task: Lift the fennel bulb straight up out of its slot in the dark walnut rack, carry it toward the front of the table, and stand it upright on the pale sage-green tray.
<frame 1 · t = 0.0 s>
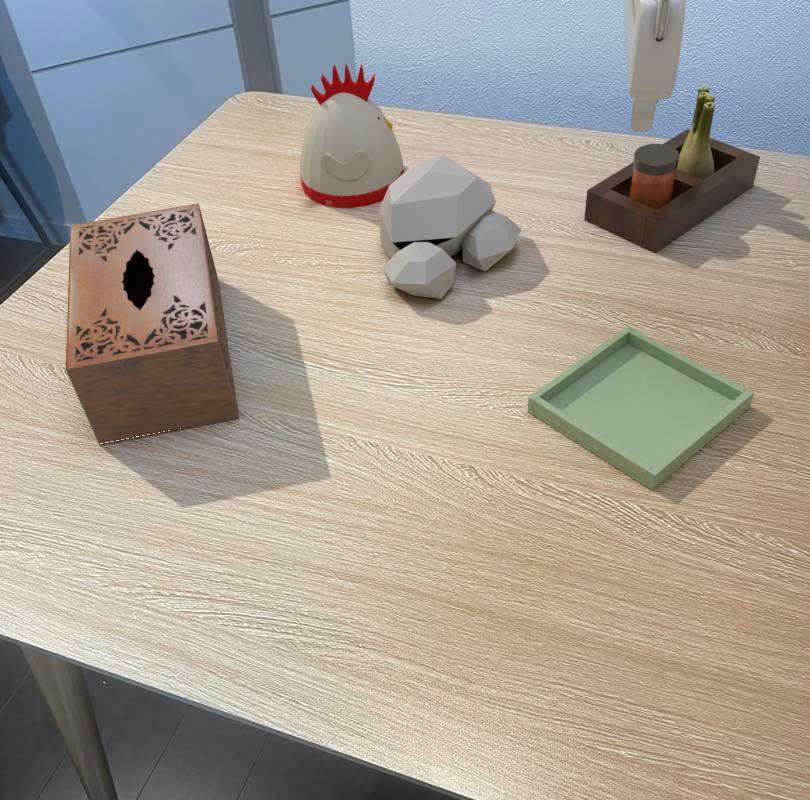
hand: (638, 102, 84), 23 cm above the table, tool pointing down, fingers open, 8 cm apart
rack: (669, 202, 116), on the table
fennel bulb: (690, 190, 118), resting in rack
tissue box cover: (164, 356, 103), on the table
kitchen timer: (353, 181, 124), on the table
spice jar: (647, 217, 114), resting in rack
tray: (637, 409, 92), on the table
rock: (433, 256, 112), on the table
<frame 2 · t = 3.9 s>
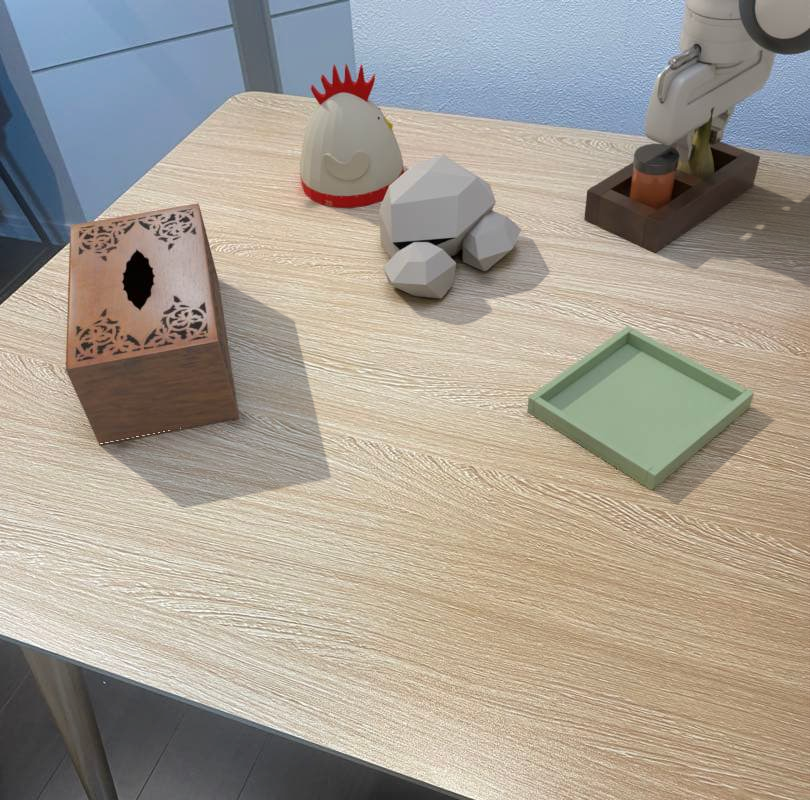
hand: (698, 150, 113), 5 cm above the table, tool pointing down, fingers closed on fennel bulb, 4 cm apart
fennel bulb: (690, 190, 118), resting in rack, touching gripper
everything else where it was.
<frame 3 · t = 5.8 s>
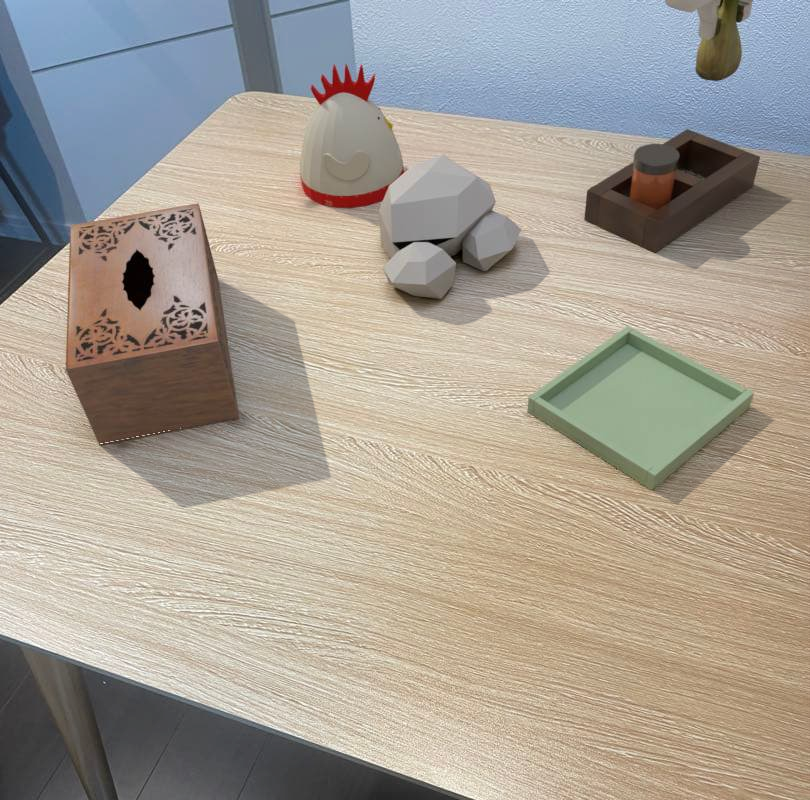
hand: (723, 27, 102), 20 cm above the table, tool pointing down, fingers closed on fennel bulb, 4 cm apart
fennel bulb: (715, 77, 106), point 14 cm above the table, touching gripper
everything else where it was.
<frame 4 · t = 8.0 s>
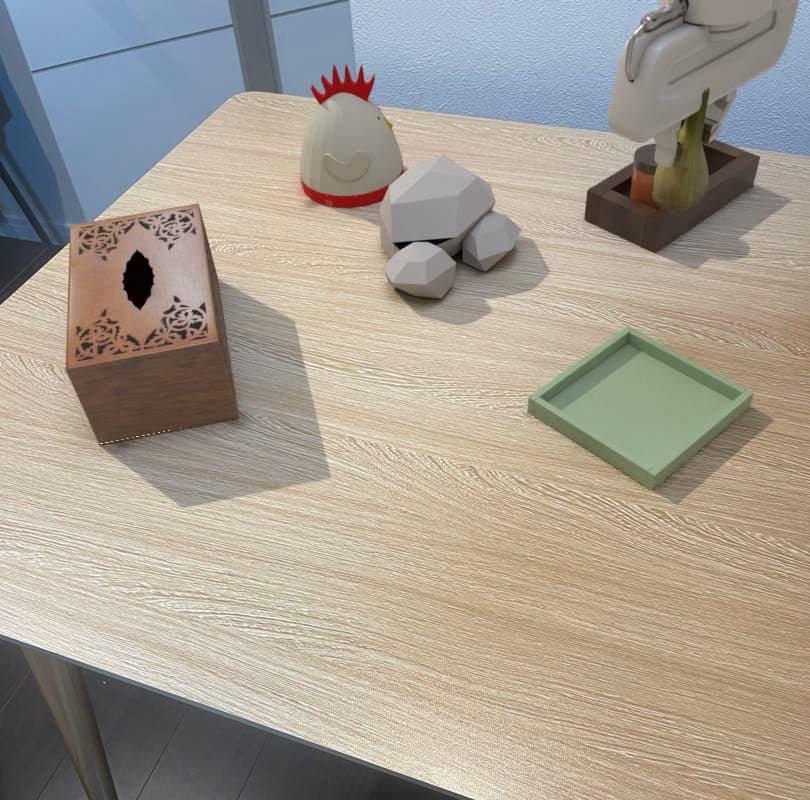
hand: (686, 150, 82), 21 cm above the table, tool pointing down, fingers closed on fennel bulb, 4 cm apart
fennel bulb: (676, 205, 86), point 16 cm above the table, touching gripper
everything else where it was.
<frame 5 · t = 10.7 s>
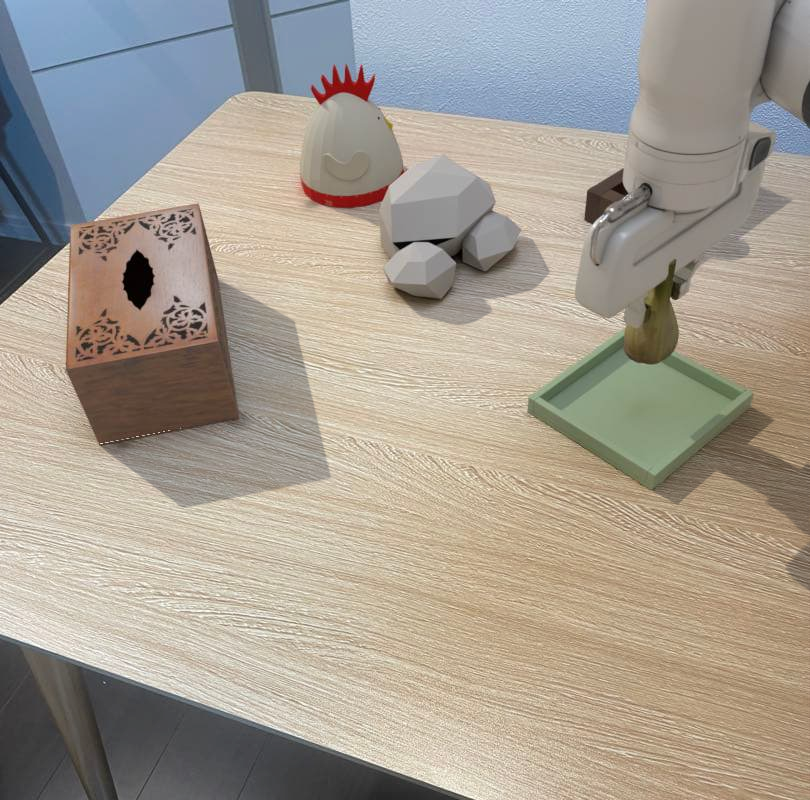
hand: (655, 308, 83), 12 cm above the table, tool pointing down, fingers closed on fennel bulb, 4 cm apart
fennel bulb: (647, 355, 87), point 7 cm above the table, touching gripper
everything else where it was.
when the fingers open (6 cm above the table, at t = 12.6 s): fennel bulb stays where it is, resting on tray.
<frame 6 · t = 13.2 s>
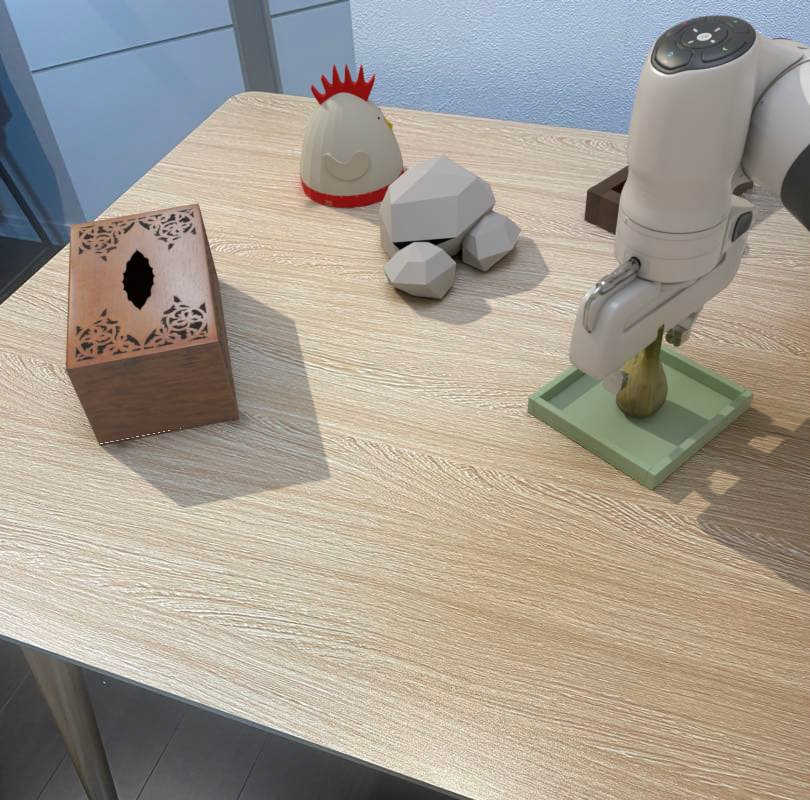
hand: (645, 364, 88), 6 cm above the table, tool pointing down, fingers open, 8 cm apart
fennel bulb: (638, 407, 92), resting on tray
everything else where it was.
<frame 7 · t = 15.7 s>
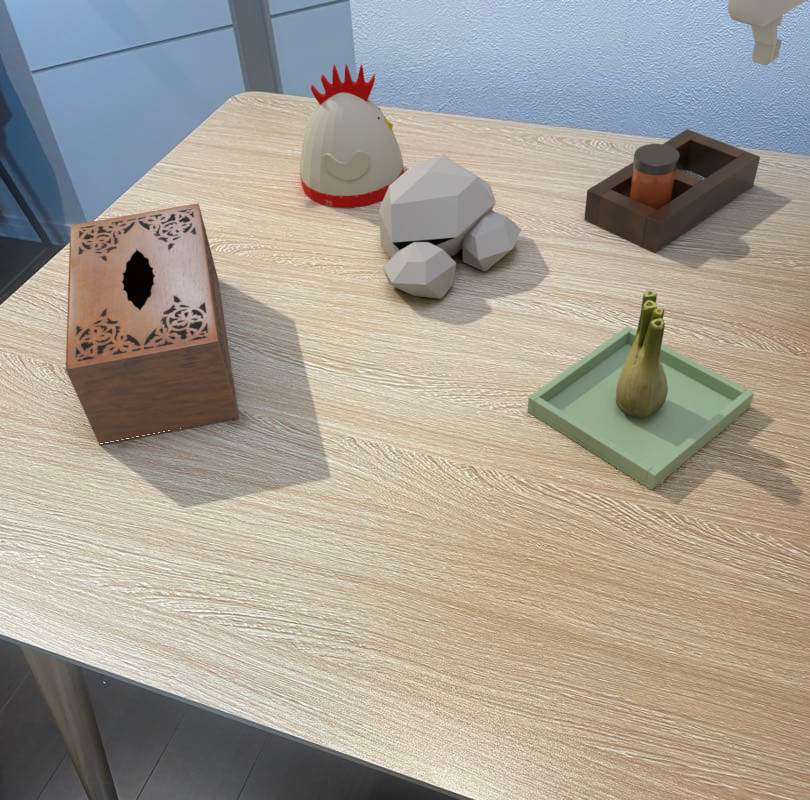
hand: (793, 43, 85), 26 cm above the table, tool pointing down, fingers open, 8 cm apart
nothing on the table moved.
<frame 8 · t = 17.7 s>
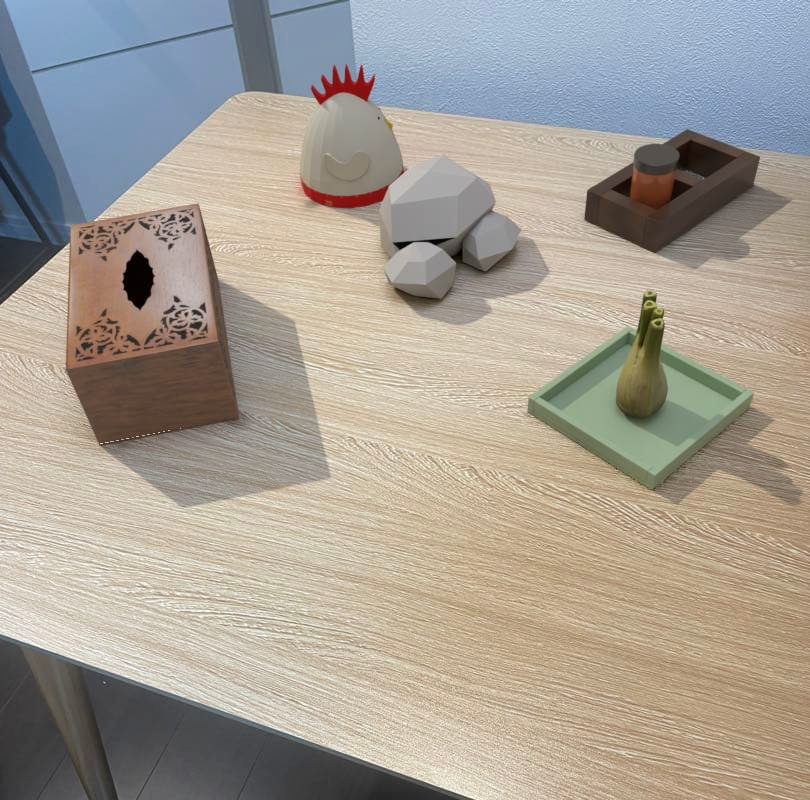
nothing on the table moved.
at the end: fennel bulb inside the target area in the tray (0.1 cm from its centre), point 0.3 cm above the tray's base; fennel bulb tilted 0°; fennel bulb touching tray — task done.
